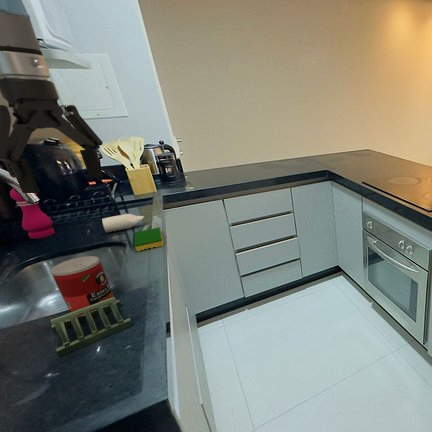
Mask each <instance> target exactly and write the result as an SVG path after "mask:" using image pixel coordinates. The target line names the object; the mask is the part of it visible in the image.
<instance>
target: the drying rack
mask: <svg viewBox="0 0 432 432" xmlns="http://www.w3.org/2000/svg"><path fill="white" fill-rule="evenodd" d="M105 304H106V305H105ZM103 305H104V306H103ZM122 306H123V305H122V303H121V301H120V299H116V297H115V296H113V297H112V298H109V299H106V300H104V301H101V302H98V303H95V304H93V305H90V306H87V307H85V308H82V309H79V310H76V311H74V312H71V311H70V312H68V313H65V314H63V315H60V316H58V317H54V318H52V319H50V323H51V326H50V327H51V329H52V331H53V333H54V334H55V333H57V334H58V335H59V338H60V339H61V342H62V345H61V346H59V347H56V348H55V351H56V354H57V356H58V357H59V358H61V357H64V356H66V355H68V354H71V353H73V352H75V351H78V350H80V349H82V348H84V347H86V346H89V345H91V344H94V343H96V342H98V341H101V340H102V339H105V338H107V337H110V336H112V335H114V334H116V333H119V332H121V331H123V330H126V329H128V328H131V327H133V322H132V320H131V318H130V317H128V318H126V319H123V317H122V316H121V313H120V310H119V308H122ZM95 308H96V309H95ZM92 309H93V310H92ZM89 310H90V311H89ZM110 312H112V313H113V315H114V317H115V319H116V321H117V322H116V323H114V324H112V325H111V323H110V320H109V318H108V316H107V314H106V313H110ZM81 313H82V314H81ZM98 316H100V319H101V321H102V323H103V326H104V328H102V329H99V330H98V328H97V326H96V323H95V320H94V318H96V317H98ZM86 321H87V323H88V326H89V329H90V331H91V333H90V334H88V335H84V333H83V328H82V326H81V323H83V322H86ZM70 327H73V329H74V332H75V333H76V337H77V339H76V340H73V341H71V342H70V338H69V334H68V331H67V329H68V328H70Z"/></svg>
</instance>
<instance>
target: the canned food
mask: <svg viewBox="0 0 432 432" xmlns="http://www.w3.org/2000/svg"><path fill="white" fill-rule="evenodd" d="M50 272H51V275H52V278H53V280H54V283H55V284H56V286H57V288H58V291H59V293H60V295H61V297H62V299H63V301H64V303H65V305H66V307H67V310H68V311H69V312H70V313H71V312H74V311H76V310H79V309H82V308H85V307H87V306H90V305H93V304H95V303H98V302H101V301H104V300H106V299H109V298H112V297H114V293H113V290H112V288H111V286H110V282H109V280H108V278H107V274H106V272H105V269H104V267H103V264H102V262H101V260H100V259H99V257H98V256H95V255H89V256H88V255H87V256H80V257H75V258H71V259H68V260H64V261H63V262H60V263H58V264H56V265H55V266H53V267H52V268H51V269H50ZM105 305H106V304H105ZM103 306H104V305H103ZM95 309H96V308H95ZM92 310H93V309H92ZM89 311H90V310H89ZM81 314H82V313H81Z"/></svg>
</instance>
